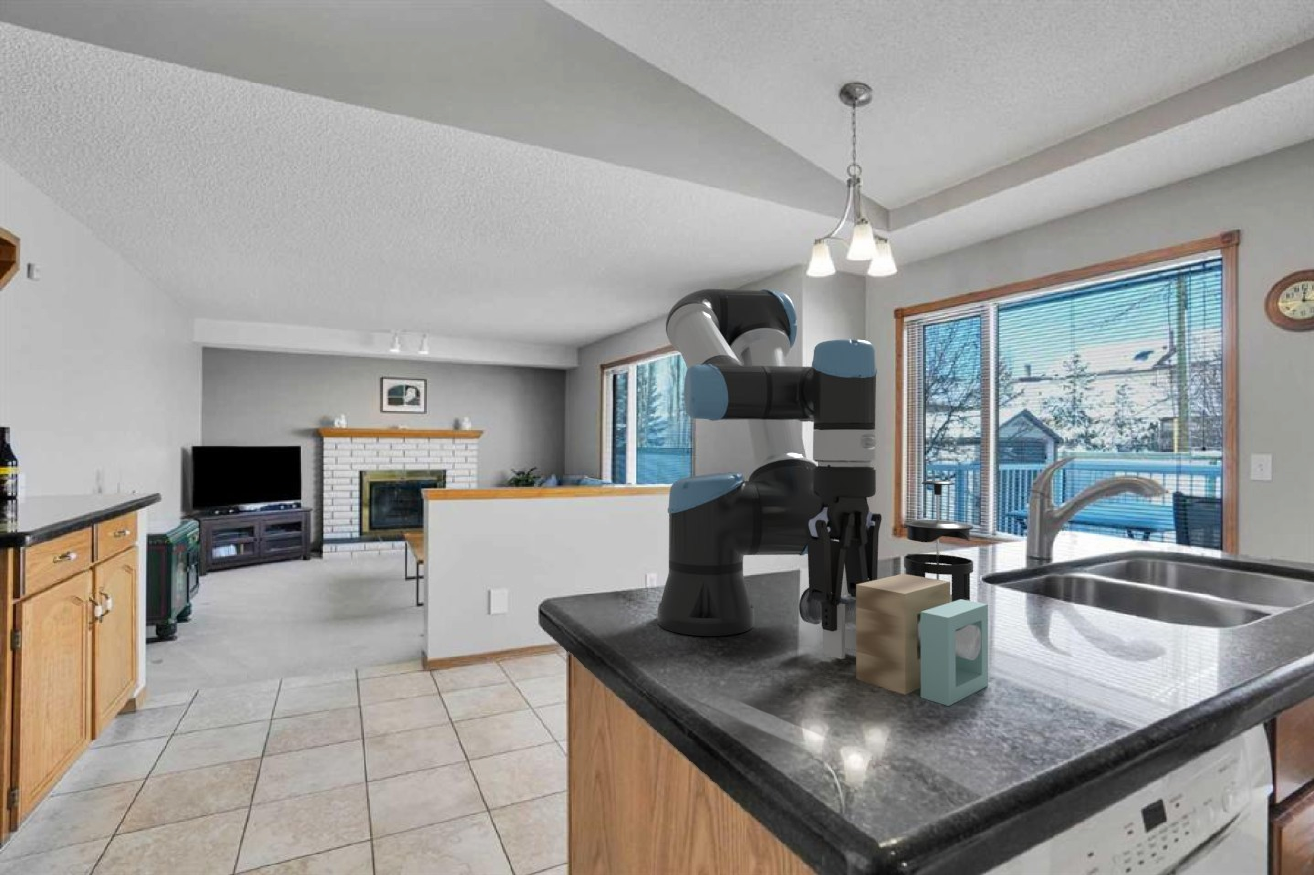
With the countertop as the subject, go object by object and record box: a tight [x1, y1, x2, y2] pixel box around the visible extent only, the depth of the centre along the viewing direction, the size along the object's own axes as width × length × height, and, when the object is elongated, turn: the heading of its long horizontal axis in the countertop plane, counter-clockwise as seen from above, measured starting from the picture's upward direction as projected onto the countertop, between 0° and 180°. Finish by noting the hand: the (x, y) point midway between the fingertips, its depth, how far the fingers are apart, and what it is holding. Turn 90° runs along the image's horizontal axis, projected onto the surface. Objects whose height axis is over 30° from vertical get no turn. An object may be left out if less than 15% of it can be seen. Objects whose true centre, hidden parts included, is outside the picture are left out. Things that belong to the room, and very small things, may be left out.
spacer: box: [920, 599, 989, 707], centre depth 71 cm, size 3×9×9 cm, turn 129°
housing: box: [855, 573, 951, 696], centre depth 75 cm, size 6×10×12 cm, turn 130°
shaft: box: [798, 587, 981, 660], centre depth 77 cm, size 21×5×5 cm, turn 40°
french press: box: [903, 480, 974, 603], centre depth 92 cm, size 12×9×23 cm
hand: (844, 651), depth 81 cm, fingers closed on shaft, 4 cm apart
